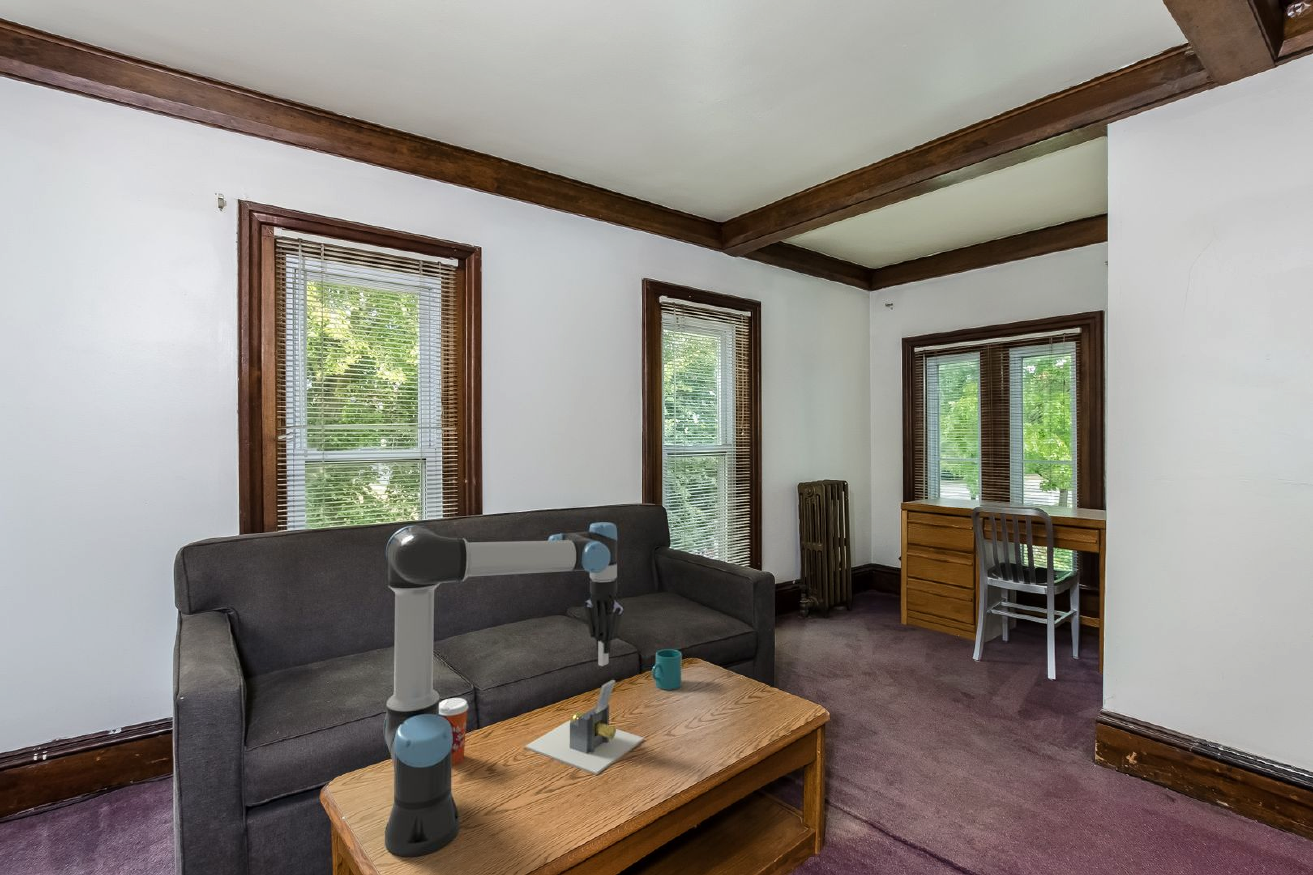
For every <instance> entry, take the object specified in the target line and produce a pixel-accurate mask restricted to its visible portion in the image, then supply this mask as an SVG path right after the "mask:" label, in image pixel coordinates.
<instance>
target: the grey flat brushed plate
mask: <svg viewBox="0 0 1313 875" xmlns="http://www.w3.org/2000/svg"><path fill="white" fill-rule="evenodd" d="M615 683H616V680H614V679H611V680H610V681H608V682H606V683H604V684H602V685H601V687H600V688H601V689H600V690H599V692H600V693H598V694H599V695H598V698H597V702H596V703H595V707H594V708H595V709H594V713H595V714H597V713H598V712H600V711H602V710H603V709H605V708H607V705H609V701H610V698H611V696H612V693H613V689H614V686H615Z"/></svg>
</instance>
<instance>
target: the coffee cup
mask: <svg viewBox="0 0 1313 875" xmlns="http://www.w3.org/2000/svg"><path fill="white" fill-rule="evenodd" d="M468 709H469V705H468V702H467V700H466V699H465V698H461V697H452V698H447V699H444V700H442V701H439V716H442V717H444V718H445V719H446V720H447V721H448V722H449V723H450V725H451V730H452V735H453V743H452V766H454V765H455V766H456V765H457V764H460V763H461V762H463V760H464V758H465V746H466V745H465V744H466V733H467V732H466V731H467V720H468V719H467V718H468V717H467V716H468Z"/></svg>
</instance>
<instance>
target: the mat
mask: <svg viewBox="0 0 1313 875" xmlns="http://www.w3.org/2000/svg"><path fill="white" fill-rule="evenodd" d="M570 721H571V719H570V720H567V721H566V722H564V723H562V724H560V725H559V726H557V727H556V728H554V729H552V730H550V731H549V732H547V733H545V734H543V735H542V736H540V737H538V738H537V739H535V740H533V741H532V742H530V743H528V744H526V745H525V746H524V749H526V750H528V751H532V752H534V753H536V754H539V755H542V756H545V757H548V758H550V759H552V760H556V761H558V762H561V763H564V764H566V765H568V766H571V767H573V768H576V769H579V770H582V771H584V772H587V773H588V774H592V775H595V776H598V775H599V774H600V773H602V772H603V771H604V770H606V768H608V767H609V766H611V765H612V764H614V763H615V762H616V761H618V760H619V759H620V758H622V757H623V756H624V755H626V754H627V753H629V752H630V751H631V750H632V749H634V748H635V747H637V746H638V745H640V744H641V743H642V742H643V741H644V740H645V738H644V737H642V736H639V735H636V734H633V733H630V732H627V731H623V730H619V729H617V728H616V734H615V736H614V738H613V739H610V738H609V742H608V743H606V742H604V743H602V744H601V745H599V746H598V747H596V748H595V749H594V752H593V753H591V752H589V753H587V754H585V753H582V752H580V751H577V750H574V749H571V748H570ZM636 745H637V746H636ZM625 753H626V754H625Z"/></svg>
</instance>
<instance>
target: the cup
mask: <svg viewBox="0 0 1313 875" xmlns="http://www.w3.org/2000/svg"><path fill="white" fill-rule="evenodd" d="M682 657H683V656H682V652H681V651H679V650H676V649H669V648H668V649H667V648H665V649H661V650H658V651H657V652H655V664H654V665H653V666H652V669H651V678H652V679H653V680H654V681H655V686H656V687H657V688H659V689H660V690H664V689H667V690H666V691H671V690H670V689H674V690H677V689H680V687H681V686H682V660H683V658H682Z"/></svg>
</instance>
